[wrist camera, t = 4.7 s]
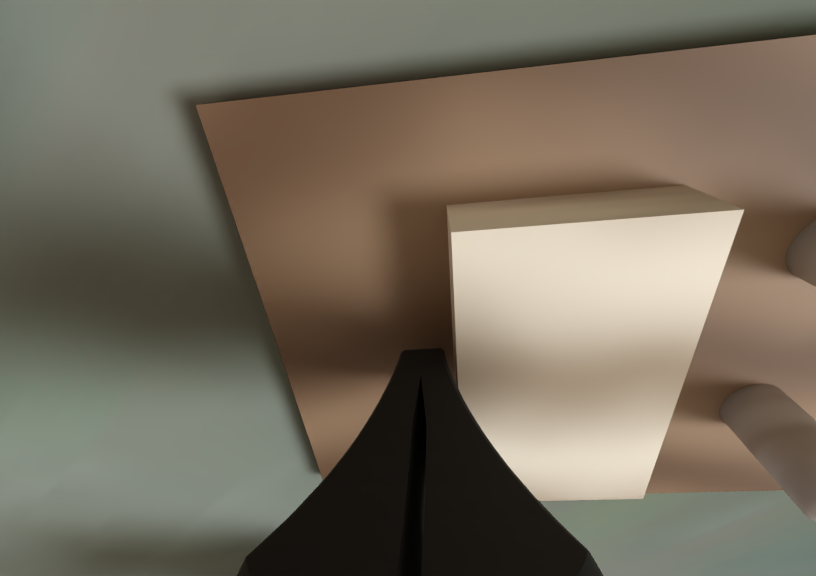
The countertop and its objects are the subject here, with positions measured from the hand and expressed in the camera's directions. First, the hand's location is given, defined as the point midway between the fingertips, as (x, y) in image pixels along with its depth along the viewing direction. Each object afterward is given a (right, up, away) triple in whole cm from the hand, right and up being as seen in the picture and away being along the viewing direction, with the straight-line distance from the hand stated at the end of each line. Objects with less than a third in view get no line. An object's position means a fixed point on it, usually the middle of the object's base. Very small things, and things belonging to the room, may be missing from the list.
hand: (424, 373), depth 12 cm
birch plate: (+4, +1, 0) cm, 4 cm away
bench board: (+5, +1, +1) cm, 6 cm away
